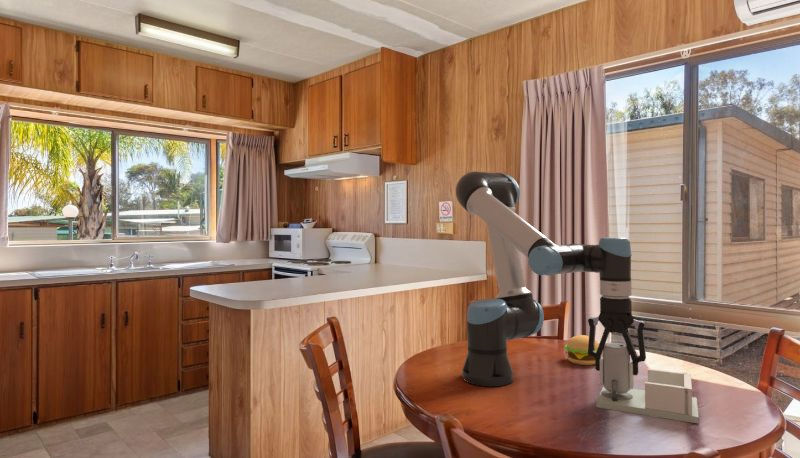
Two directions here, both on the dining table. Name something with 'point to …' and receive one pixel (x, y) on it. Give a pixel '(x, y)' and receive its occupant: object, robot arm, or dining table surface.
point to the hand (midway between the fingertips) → (616, 384)
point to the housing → (669, 391)
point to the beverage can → (616, 366)
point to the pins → (614, 390)
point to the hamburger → (580, 350)
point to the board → (642, 405)
